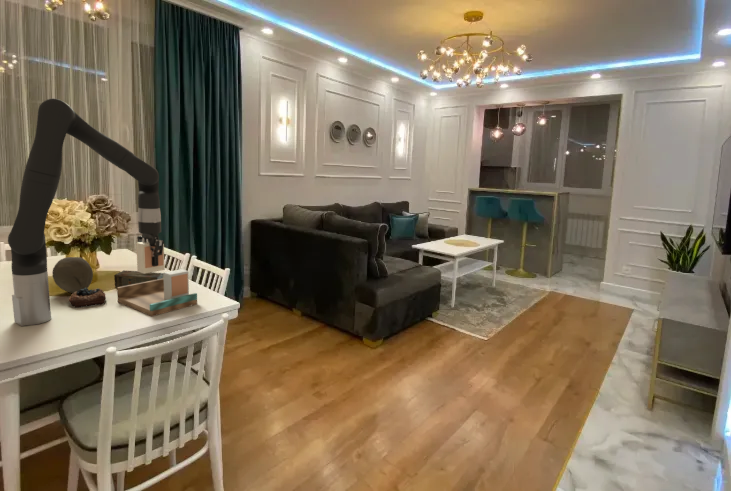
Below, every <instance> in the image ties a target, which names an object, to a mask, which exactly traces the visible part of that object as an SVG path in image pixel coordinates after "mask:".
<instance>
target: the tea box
mask: <svg viewBox="0 0 731 491" xmlns="http://www.w3.org/2000/svg"><path fill="white" fill-rule="evenodd" d="M135 245H136V262H137V263H136V265H137V267H136V268H137V271H138V272H141V273H144V274H145V273H150V272H154V273H157V272H159V271H161V272H162V271H165V245H163V252H162V255H159V256H158V266H152V255H151V251H150V246H149V243H147V242H138V241H137V242H136V243H135ZM151 247H152V246H151ZM152 248H155V247H152ZM154 251H155V250H154ZM159 251H160V250H159Z"/></svg>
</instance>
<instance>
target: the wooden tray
mask: <svg viewBox="0 0 731 491" xmlns="http://www.w3.org/2000/svg"><path fill="white" fill-rule="evenodd" d="M116 291H117V293H116V294H117V302H118V303H120V304H122V305H125V306H127V307H129V308H132V309H134V310H136V311H138V312H141V313H143V314H145V315H148V316H150V317H154V316H159V315H162V314H165V313H169V312H173V311H176V310H181V309H184V308H188V307H191V305H192V306H195V305H198V293H196V292H193V293H189V295H185V296H181V297H177V298H173V299H169V300H165V299H164V279H163V278H162V279H157V280H152V281H147V282H142V283H137V284H132V285H127V286H122V287H116Z"/></svg>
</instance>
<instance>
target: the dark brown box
mask: <svg viewBox="0 0 731 491" xmlns="http://www.w3.org/2000/svg"><path fill="white" fill-rule="evenodd" d="M163 273H164V272H150V273H145V274H144V273H141V272H138V271H136V270H125V269H124V270H122V271H120V272H118V273H116V274H114V275H113V276H114V277H113V278H114V288H117V287H122V286H127V285H132V284H137V283H142V282H147V281H152V280H157V279H162V278H163V279H164V276H163Z"/></svg>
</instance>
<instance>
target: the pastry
mask: <svg viewBox="0 0 731 491" xmlns="http://www.w3.org/2000/svg"><path fill="white" fill-rule="evenodd" d="M103 290H104V289H101V288H98V287H97V288H93V289H89V288H84V289H81V290H79V291H77V292H74V293H72V294H71V295H70V296H69V298H68V303H69V304H70V306H72V308H75V309H78V308H87V307H94V306H102V305H105V303H106V301H107V300H106V298H107V297H106V293H105V292H104V291H103Z"/></svg>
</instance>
